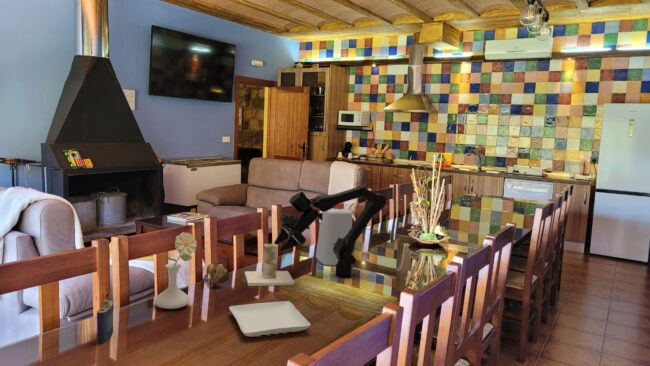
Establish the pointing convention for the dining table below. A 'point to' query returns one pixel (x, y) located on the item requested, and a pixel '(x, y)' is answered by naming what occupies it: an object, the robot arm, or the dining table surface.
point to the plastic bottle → (332, 232)
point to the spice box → (269, 261)
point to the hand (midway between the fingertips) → (277, 247)
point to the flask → (105, 322)
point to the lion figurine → (215, 273)
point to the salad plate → (268, 318)
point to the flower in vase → (173, 294)
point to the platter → (258, 280)
